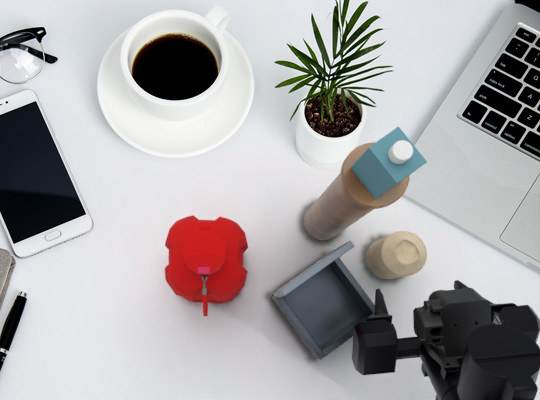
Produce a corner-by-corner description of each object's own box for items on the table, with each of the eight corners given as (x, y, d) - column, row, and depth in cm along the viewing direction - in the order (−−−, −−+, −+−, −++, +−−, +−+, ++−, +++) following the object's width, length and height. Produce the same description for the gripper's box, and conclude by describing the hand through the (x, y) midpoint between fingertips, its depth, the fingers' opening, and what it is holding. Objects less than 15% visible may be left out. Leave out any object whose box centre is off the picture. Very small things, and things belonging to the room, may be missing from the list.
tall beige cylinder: (352, 227, 84) (423, 181, 55) (317, 252, 84) (369, 220, 55) (326, 192, 86) (381, 129, 56) (291, 217, 85) (328, 166, 56)
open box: (371, 314, 82) (382, 315, 77) (313, 356, 82) (320, 360, 76) (327, 256, 84) (335, 252, 78) (270, 296, 83) (274, 295, 78)
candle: (413, 252, 83) (439, 244, 74) (393, 287, 83) (417, 283, 73) (377, 231, 84) (398, 220, 74) (357, 265, 84) (376, 259, 74)
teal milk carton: (401, 180, 55) (433, 157, 47) (375, 199, 55) (402, 179, 47) (376, 149, 56) (403, 120, 48) (350, 167, 56) (372, 142, 47)
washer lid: (355, 246, 68) (350, 240, 68) (284, 296, 67) (280, 290, 67) (337, 254, 78) (334, 249, 78) (276, 298, 77) (272, 293, 77)
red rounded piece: (174, 314, 84) (154, 315, 59) (176, 234, 86) (158, 203, 61) (242, 317, 83) (250, 318, 58) (243, 236, 85) (252, 205, 60)
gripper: (591, 329, 54) (509, 224, 67) (380, 350, 55) (338, 242, 68) (561, 408, 61) (491, 297, 73) (372, 426, 61) (335, 313, 74)
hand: (416, 287), depth 72 cm, fingers open, 9 cm apart
